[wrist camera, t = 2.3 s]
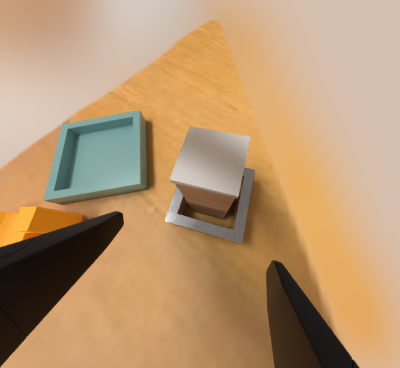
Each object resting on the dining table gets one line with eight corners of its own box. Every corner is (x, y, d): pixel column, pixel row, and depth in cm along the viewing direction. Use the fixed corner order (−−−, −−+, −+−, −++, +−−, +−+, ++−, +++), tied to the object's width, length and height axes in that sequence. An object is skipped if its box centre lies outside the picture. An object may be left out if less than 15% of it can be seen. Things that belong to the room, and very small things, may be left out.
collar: (237, 243, 19) (242, 243, 16) (171, 223, 21) (164, 220, 18) (249, 178, 22) (255, 170, 19) (190, 165, 24) (187, 155, 21)
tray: (147, 189, 23) (140, 183, 20) (60, 204, 23) (43, 200, 21) (145, 121, 28) (139, 110, 25) (74, 134, 28) (62, 124, 26)
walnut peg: (223, 220, 20) (238, 196, 9) (192, 211, 21) (169, 179, 10) (230, 189, 22) (250, 136, 10) (200, 182, 22) (190, 126, 11)
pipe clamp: (0, 245, 21) (-83, 248, 15) (13, 216, 23) (-57, 207, 17) (75, 246, 21) (19, 249, 15) (84, 215, 22) (36, 206, 16)
